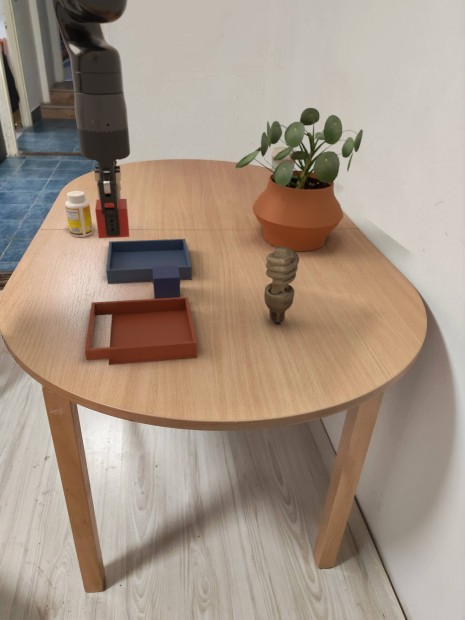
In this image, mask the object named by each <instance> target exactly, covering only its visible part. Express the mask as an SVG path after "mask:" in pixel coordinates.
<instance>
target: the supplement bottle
mask: <svg viewBox="0 0 465 620" xmlns="http://www.w3.org/2000/svg"><path fill="white" fill-rule="evenodd" d="M85 195H86V194H85V192H84V191H82V190H72V191H68V192H67V193H66V199H67V200H66V201H65V202H64V206H65V207H64V208H65V213H66V218H67V219H66V220H67V226H68V231H69V234H70V235H71V236H72V237H75V238H85V237H89V236H91V235H92V234H93V232H94V227H93V220H92V219H93V218H92V213H91V212H92V211H91V205H90V201H89V200H88V199H86V196H85Z"/></svg>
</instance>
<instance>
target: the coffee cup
mask: <svg viewBox="0 0 465 620" xmlns="http://www.w3.org/2000/svg"><path fill="white" fill-rule="evenodd" d="M286 148H288V146H277V147H273V149H272V151H271V152H270V156H271V170H272V171H273V172H274V171H275V169H276V167H277V166H278V165H279V164H280V163H282V162H290V163H291V164H292V165H293V167H294V168H295V166H296V163H295V162H297V160H295V162H294V161H293V159H291V158H290V155H291V154H292V153H293V152H292V151H291V152H290V153H289V154H290V155H289V154H288V155H287V156H286V157H285V158H283V159H281V160H277V161H274V160H273V159H274V157H275V156H276V155H277V154H278V153H279V152H281V151H282V150H284V149H286ZM293 151H294V152H295V151H297V149H295V148H293ZM272 166H273V167H274V168H275V169H274V168H273V167H272ZM294 168H293V170H295V169H294ZM272 174H274V173H272V172H271V175H272Z"/></svg>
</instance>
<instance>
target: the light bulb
mask: <svg viewBox="0 0 465 620" xmlns="http://www.w3.org/2000/svg"><path fill="white" fill-rule="evenodd" d="M265 260H266V263H265V268H266V271H265V275H266V276H267V277H268V278H269V279H271V282H270V283H269V284H266V286H265V287H264V294H263V295H264V299H263V300H264V303H265V305H266V307H267V308H268V310H269V311H268V312H269V314H268V315H269V321H270V322H273V323H274V324H275V325H280V324H281V323H283V322H284V321H285V319H286V316H285V315H286V312H287V310H288V309H290V308H291V307H292V305H293V302H294V297H295V289H294V287H293V286H292V285H291V283H293V282H294V281H295V279H296V277H297V271H298V267H299V266H298V265H299V262H300V256H299V254H298V253H297V251H294V250H292V249H290V248H287V247H282V246H278V247H275V246H274V248H273V252H270V253H268V254H267V255H266V257H265Z"/></svg>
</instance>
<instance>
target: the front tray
mask: <svg viewBox="0 0 465 620" xmlns="http://www.w3.org/2000/svg"><path fill="white" fill-rule="evenodd" d="M106 315H109V316H110V315H111V319H110V320H111V321H110V322H111V323H110V336H109V339H110V340H109V346H107V347H94V348H93V342H94V340H93V339H94V333H95V325H96V316H106ZM88 319H89V320H88V327H87V334H86V340H85V346H84V347H85V348H84V354H85V360H86V361H94V360H106V359H108V365H119V364H120V365H121V364H131V363H143V362H154V361H155V362H156V361H168V360H180V359H191V358H193V359H194V358H197V357H198V341H197V336H196V335H197V334H196V331H195V326H194V325H195V324H194V320H193V316H192V310H191V306H190V301H189V296H180V297H177V298H159V299H154V298H145V299H144V298H143V299H127V300H111V301H92V302H91V305H90V312H89V318H88Z"/></svg>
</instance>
